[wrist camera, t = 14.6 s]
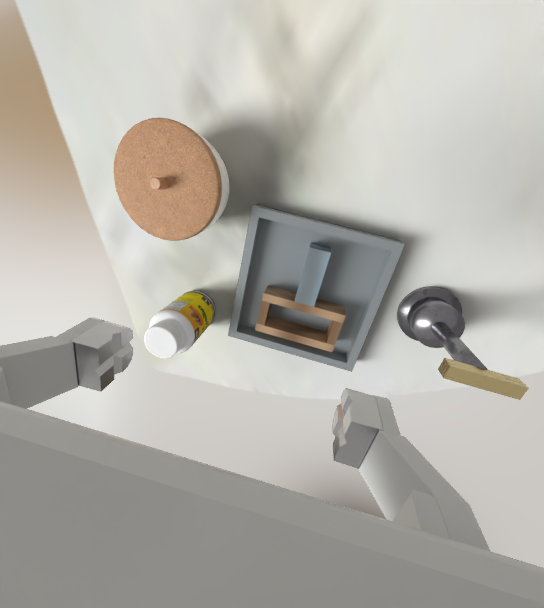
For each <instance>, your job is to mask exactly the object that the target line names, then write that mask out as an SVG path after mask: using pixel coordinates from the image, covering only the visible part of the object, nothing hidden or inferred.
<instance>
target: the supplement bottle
mask: <svg viewBox="0 0 544 608" xmlns="http://www.w3.org/2000/svg"><path fill="white" fill-rule="evenodd" d="M214 318H215V306H214V304H213V302H212V300H211V299H210V298H209V297H208V296H207V295H206V294H204V293H202V292H199V291H189V292H187V293H185V294H183V295H182V296H180V297H179V298H178V299H176V300H175V301H173V302H172V303H171V304H169V305H168V306H166V307H165V308H164V309H162V310H161V311H160V312H158V313H157V314H156V315H155V316H154V317H153V318H152V319H151V321H150V324H149V329H148V330H147V331H146V333H145V335H144V342H145V345H146V347H147V349H148V350H149V351H150V352H151V353H152V354H153V355H155V356H157V357H160V358H170V357H172V356H173V355H175V354H179V353H183V352H185V351H187V350H188V349H189V348H190V347H191V346H192V345H193V344H194V343H195V341H196V340H197V339H198V338H199V337H200V336H201V334H202V333H203V332H204V331H205V330H206V329H207V327H208V326H209V325H210V324H211V323H212V321H213V320H214Z"/></svg>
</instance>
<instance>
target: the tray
mask: <svg viewBox="0 0 544 608" xmlns="http://www.w3.org/2000/svg"><path fill="white" fill-rule="evenodd" d="M311 243H314V244H318V245H322V246H325V247H329V248H331V255H330V258H329V261H328V264H327V267H326V271H325V274H324V277H323V280H322V283H321V287H320V290H319V293H318V296H317V299H320V300H324V301H327V302H331V303H335V304H338V305H342V306H344V309H345V315H346V316H345V319H344V322H343V324H342V327H341V330H340V332H339V335H338V338H337V340H336V343H335V346H334V349H333V351H332V352H329V351H326V350H322V349H319V348H315V347H312V346H308V345H305V344H301V343H298V342H294V341H291V340H287V339H284V338H280V337H277V336H273V335H270V334H266V333H263V332H260V331H256V330H255V328H256V324H257V319H258V315H259V311H260V306H261V302H262V297H263V293H264V291H265V290H266V288H267V286H268V285H269V286H273V287H276V288H280V289H284V290H287V291H291V292H295V293H297V290H298V286H299V283H300V279H301V276H302V272H303V269H304V265H305V261H306V258H307V254H308V251H309V247H310V244H311ZM404 246H405V244H403V243H402V242H400V241H398V240H394V239H390V238H386V237H382V236H378V235H375V234H371V233H367V232H363V231H359V230H355V229H351V228H347V227H343V226H339V225H335V224H331V223H327V222H323V221H319V220H315V219H311V218H308V217H304V216H300V215H296V214H292V213H288V212H284V211H280V210H276V209H272V208H268V207H264V206H260V205H253V206H252V208H251V214H250V219H249V225H248V230H247V236H246V241H245V246H244V252H243V257H242V263H241V268H240V273H239V279H238V284H237V290H236V295H235V301H234V306H233V311H232V317H231V322H230V328H229V333H228V336H231V337H234V338H238V339H241V340H245V341H248V342H251V343H255V344H258V345H262V346H265V347H269V348H272V349H276V350H279V351H283V352H286V353H289V354H293V355H296V356H300V357H303V358H307V359H310V360H314V361H317V362H320V363H324V364H327V365H331V366H334V367H338V368H341V369H345V370H348V371H351V372H352V370H353V368H354V365H355V363H356V360H357V358H358V356H359V353H360V351H361V348H362V346H363V344H364V341H365V339H366V336H367V334H368V332H369V329H370V327H371V324H372V322H373V320H374V317H375V315H376V313H377V310H378V308H379V305H380V303H381V301H382V298H383V296H384V293H385V291H386V289H387V286H388V284H389V281H390V279H391V277H392V274H393V272H394V270H395V267H396V265H397V262H398V260H399V258H400V255H401V253H402V250H403V248H404ZM269 316H271V317H275V318H278V319H282V320H285V321H289V322H292V323H296V324H299V325H303V326H306V327H310V328H314V329H317V330H321V331H324V332H327V329H328V326H329V323H330V321H331V320H330V319H326V318H323V317H319V316H316V315H312V314H308V313H305V312H301V311H298V310H294V309H290V308H287V307H283V306H280V305H276V304H273V303H272V304H271V308H270V312H269Z"/></svg>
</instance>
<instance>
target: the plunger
mask: <svg viewBox="0 0 544 608" xmlns="http://www.w3.org/2000/svg"><path fill="white" fill-rule="evenodd" d="M397 320H398V324H399V326H400V328H401V329H402V331H403V332H404V333H405V334H406V335H407V336H409V337H410V338H412V339H414V340H417V341H420V342H421V343H422V344H424V345H426V346H428V347H433V348H441V347H444V348H445V349H446V350H447V352H448V353H449V354H450V355H451V357H452V358H453V359H454V360H451V359H447V358H444V360H443V362H442V363H441V365H440V367H439V369H438V370H439V372H440V373H441V375H442V376H443V378H445V379H449V380H452V381H456V382H459V383H463V384H466V385H470V386H473V387H477V388H480V389H484V390H487V391H491V392H494V393H498V394H502V395H505V396H508V397H512V398H516V399H519V400H520V399H521V398H522V396H523V395H524V393H525V392H526V391H527V390H528V387H527V386H526V385H525V384H524V383H523V382H522V381H521V380H520V379H518V378H515V377H511V376H508V375H504V374H501V373H497V372H493V371H490V370H488V369H487V368H486V367H485V366H484V365H483V364H482V363H481V362H480V360H479V359H478V358H477V357H476V356H475V355H474V354H473V353H472V352H471V351H470V349H469V348H468V347H467V346H466V345H465V344H464V343H463V342H462V341H461V340H460V339H459V338H460V337H461V335H462V334H463V331H464V327H465V323H464V319H463V317H462V309H461V305H460V303H459V301H458V299H457V298H456V297H455V296H454V295H453V294H451V293H450V292H449V291H447V290H445V289H443V288H439V287H423V288H420V289H417V290H415V291H413V292H411V293H410V294H408V295H407V296H406V297H405V298H404V299H403V300H402V302H401V303H400V305H399V307H398V311H397Z"/></svg>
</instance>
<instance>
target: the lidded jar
mask: <svg viewBox="0 0 544 608" xmlns="http://www.w3.org/2000/svg"><path fill="white" fill-rule="evenodd" d="M114 180H115V186H116V190H117V193H118V196H119V199H120V201H121V203H122V205H123V207H124V209H125V210H126V212H127V213H128V215H129V216H130V217H131V218H132V220H133V221H134V222H135V223H136V224H137V225H138V226H139V227H140V228H142V229H143V230H145V231H146V232H147V233H149V234H151V235H153V236H155V237H158V238H161V239H165V240H183V239H188V238H190V237H193V236H195V235H197V234H199V233H200V232H202V231H204V230H206V229H207V228H209V227H210V226H212V225H213V224H214V223H215V222H216V221H217V220H218V219H219V217H220V216H221V215H222V213H223V211H224V209H225V207H226V205H227V202H228V197H229V187H230V186H229V177H228V173H227V169H226V167H225V164H224V162H223V160H222V158H221V157H220V155H219V153H218V152H217V151H216V149H215V148H214V147H213V146H212V145H211V144H210V143H209V142H208V141H207V140H206V139H205V138H203V137H202V136H201V135H199V134H198V133H196V132H195V131H193V130H192V129H190V128H189V127H187V126H185V125H183V124H181V123H179V122H177V121H174V120H171V119H166V118H152V119H148V120H144V121H142V122H140V123H138V124H136V125H135V126H133V127H132V128H131V129H130V130H129V131H128V132H127V133H126V134H125V136H124V137H123V138H122V140H121V142H120V144H119V146H118V149H117V152H116V155H115V161H114Z"/></svg>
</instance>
